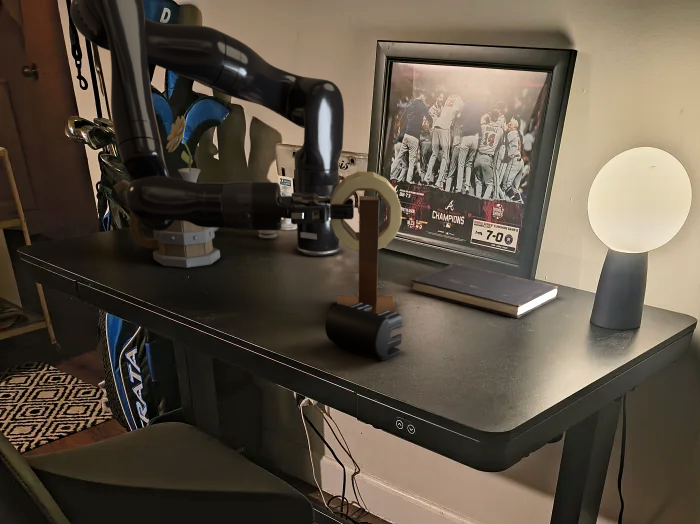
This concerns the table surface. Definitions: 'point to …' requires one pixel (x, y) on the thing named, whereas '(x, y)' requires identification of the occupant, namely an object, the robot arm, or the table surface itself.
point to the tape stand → (368, 260)
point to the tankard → (175, 241)
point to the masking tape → (367, 183)
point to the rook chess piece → (267, 234)
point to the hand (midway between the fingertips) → (352, 208)
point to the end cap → (364, 330)
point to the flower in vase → (175, 139)
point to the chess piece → (286, 222)
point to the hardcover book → (485, 290)
